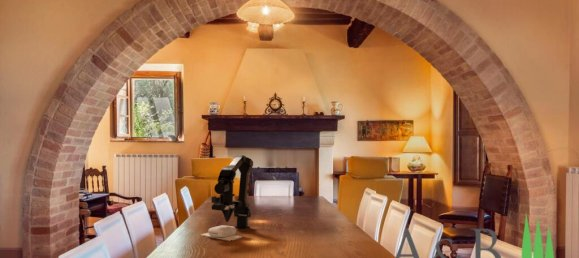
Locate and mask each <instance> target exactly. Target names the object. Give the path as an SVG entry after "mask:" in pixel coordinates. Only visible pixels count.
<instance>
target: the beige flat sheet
mask: <svg viewBox="0 0 579 258" xmlns="http://www.w3.org/2000/svg"><path fill="white" fill-rule="evenodd" d="M200 236H201V237H206V238H212V239H218V240H223V241H229V242H230V241H231V240H232V241H234V240H235V241H236V240H239V239H241V238H242V239H243V236H242V235H236V234H234V235H230V236H227V237H221V238H220V237H213V236H210V235H209V234H208V232H205V233H201V234H200Z"/></svg>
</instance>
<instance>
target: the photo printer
mask: <svg viewBox="0 0 579 258" xmlns="http://www.w3.org/2000/svg"><path fill="white" fill-rule="evenodd" d="M207 233H208V234H209V235H210V236H213V237H220V238H221V237H227V236H230V235H236V233H237V228H236V227H235V226H232V225H231V226H230V225H222V224H221V225H218V226H217V225H216V226H212V227H210V228H208V230H207Z"/></svg>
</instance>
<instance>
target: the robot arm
mask: <svg viewBox="0 0 579 258" xmlns="http://www.w3.org/2000/svg"><path fill="white" fill-rule="evenodd" d="M253 167H254V161H253V159H252V158H250V157H248V156H246V155H243V154H236V155H235V157H234V159H233V160H232V161H231V162H230V164H229V165H226V166H223V167H222V168H221V169H220V172H219V175H218V177H217V183H216V184H215V185H214V192H215V193H216V194H217V195H219V196H218V197H217V196H211V203H212V205H211V210H213V211H221V212H222V214H223V216H224V220H225V222H226V223H228V222H229V221H230V219H231V217H232V215H233V216H234V218H235V217H236V225H235V226H234V227H235V228H236V229H247V228H250V227H251V225H249V218H252V211H251V208H250V203H249V201H248V200H247V199H248V196H247V195H248V189H249V187H248V186H249V185H248V184H249V175H250V173H251V172H252V170H253ZM237 171H239V173H240V174H239V175H240V177H239V187H238V198H237V200H234V197H235V196H236V193H234V183H235V178H236V175H237Z"/></svg>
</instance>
